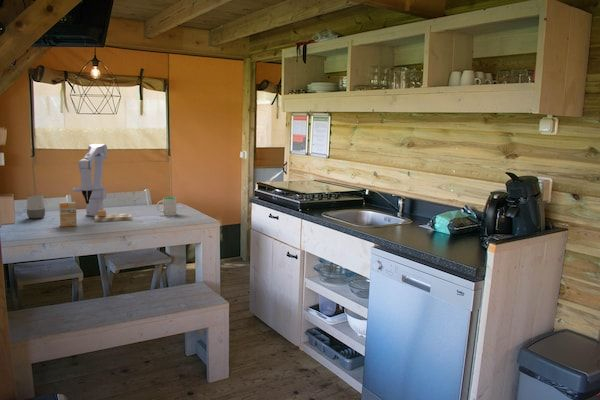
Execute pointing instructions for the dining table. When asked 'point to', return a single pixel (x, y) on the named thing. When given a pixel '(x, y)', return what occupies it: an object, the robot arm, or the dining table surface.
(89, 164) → the robot arm
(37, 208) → the smart speaker
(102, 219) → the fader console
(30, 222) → the dining table surface
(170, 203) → the mug
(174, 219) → the dining table surface
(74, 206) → the supplement box
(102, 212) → the fader tab
